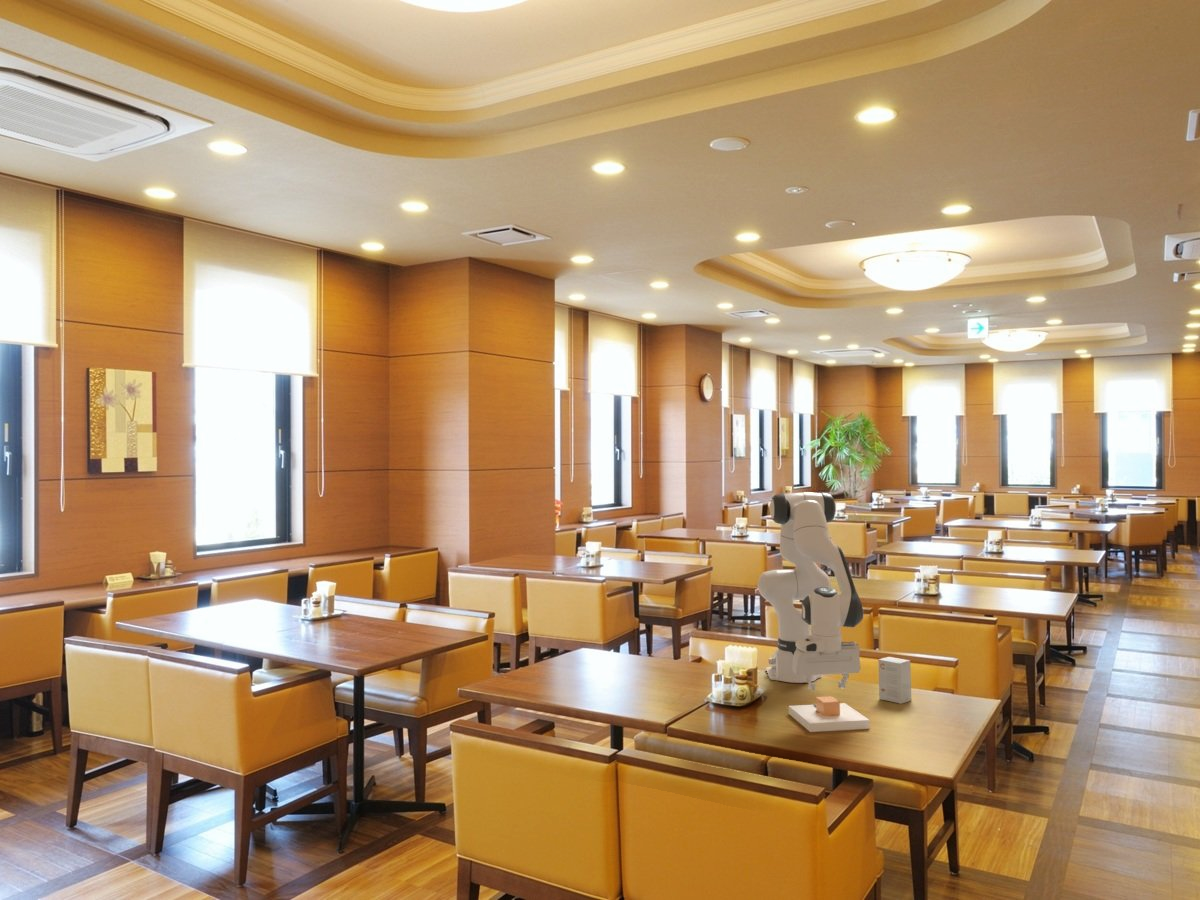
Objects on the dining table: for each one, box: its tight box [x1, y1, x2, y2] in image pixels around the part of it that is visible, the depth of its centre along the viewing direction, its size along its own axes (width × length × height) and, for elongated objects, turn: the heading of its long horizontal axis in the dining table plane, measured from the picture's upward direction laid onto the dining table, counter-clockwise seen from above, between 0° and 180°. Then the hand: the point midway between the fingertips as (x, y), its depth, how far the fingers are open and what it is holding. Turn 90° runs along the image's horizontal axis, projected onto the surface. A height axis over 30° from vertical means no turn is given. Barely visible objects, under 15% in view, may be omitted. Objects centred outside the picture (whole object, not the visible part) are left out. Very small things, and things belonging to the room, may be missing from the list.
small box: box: [878, 656, 912, 705], centre depth 280 cm, size 8×6×13 cm
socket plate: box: [788, 702, 871, 733], centre depth 259 cm, size 18×18×3 cm
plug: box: [815, 695, 841, 716], centre depth 259 cm, size 6×5×6 cm
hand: (826, 688), depth 259 cm, fingers open, 8 cm apart
